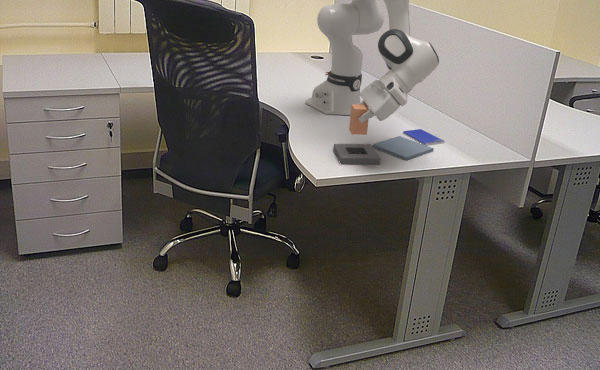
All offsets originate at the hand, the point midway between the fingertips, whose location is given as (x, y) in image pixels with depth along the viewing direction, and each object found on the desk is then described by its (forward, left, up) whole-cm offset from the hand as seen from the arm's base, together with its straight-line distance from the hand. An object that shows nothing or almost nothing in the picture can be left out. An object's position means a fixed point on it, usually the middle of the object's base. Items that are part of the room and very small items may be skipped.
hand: (357, 117), depth 196 cm
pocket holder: (+1, +1, -13) cm, 13 cm away
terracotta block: (0, +1, -5) cm, 5 cm away
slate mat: (+5, +19, -13) cm, 23 cm away
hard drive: (+2, +33, -13) cm, 36 cm away
